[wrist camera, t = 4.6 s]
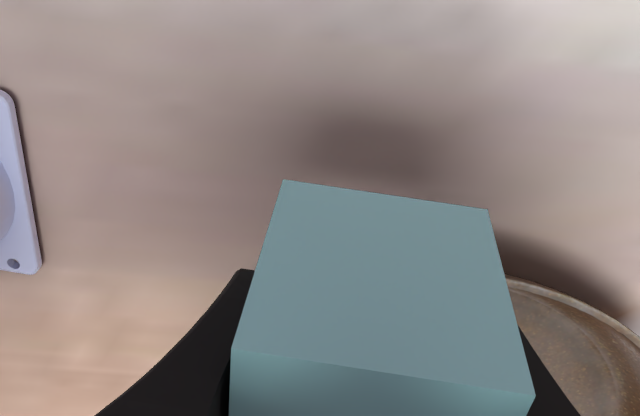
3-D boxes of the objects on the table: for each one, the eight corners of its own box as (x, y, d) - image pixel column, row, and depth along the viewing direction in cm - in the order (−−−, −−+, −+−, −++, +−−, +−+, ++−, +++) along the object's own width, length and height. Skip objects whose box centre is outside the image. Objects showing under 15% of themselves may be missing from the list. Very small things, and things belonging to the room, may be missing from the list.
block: (270, 326, 15) (225, 513, 11) (283, 179, 13) (231, 348, 9) (440, 352, 15) (460, 551, 11) (487, 209, 13) (535, 395, 8)
